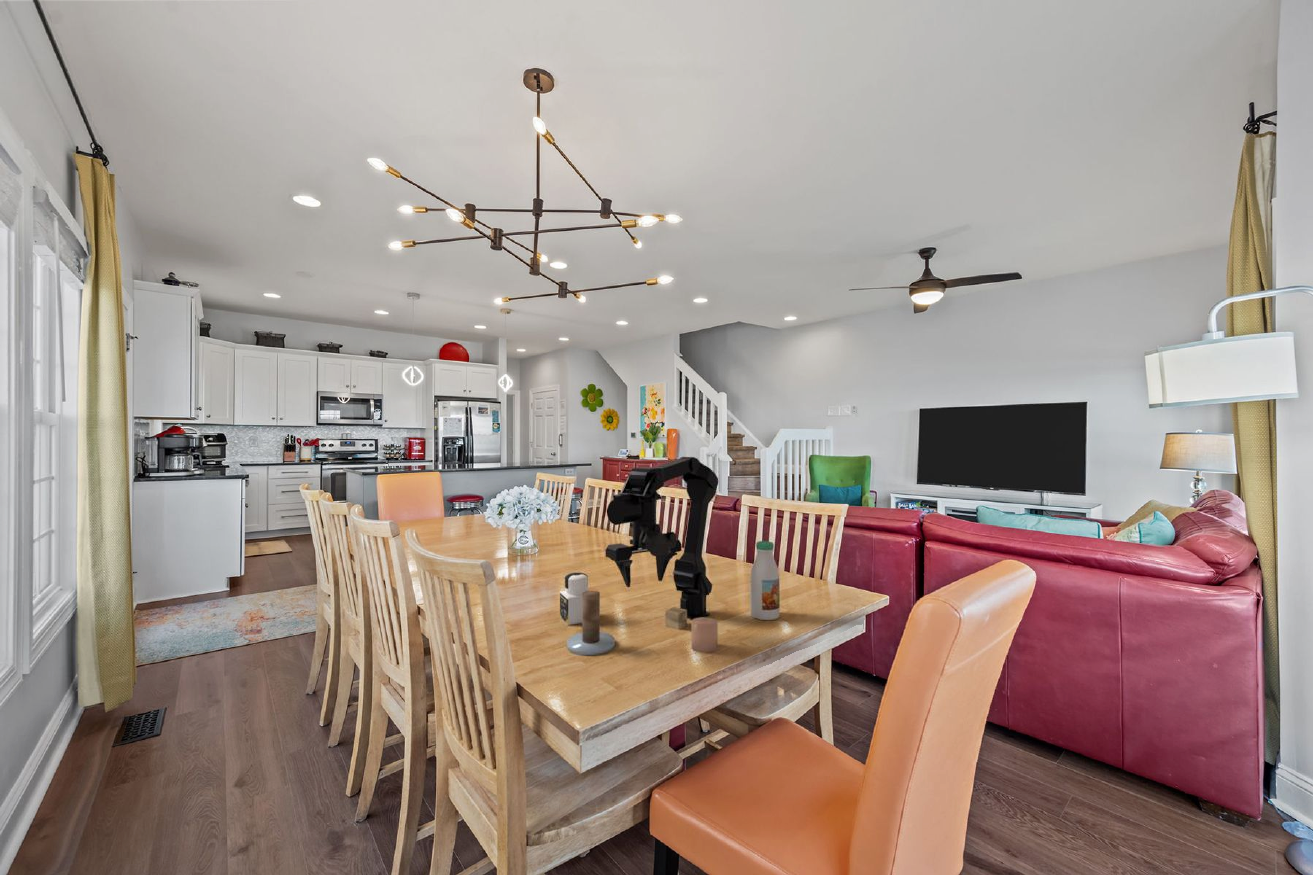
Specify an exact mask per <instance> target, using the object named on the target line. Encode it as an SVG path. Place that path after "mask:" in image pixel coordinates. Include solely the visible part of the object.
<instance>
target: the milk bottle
mask: <svg viewBox="0 0 1313 875" xmlns="http://www.w3.org/2000/svg"><path fill="white" fill-rule="evenodd" d="M755 544H756V545H755V546H756V549H755V550H756V555H755V556H756V557H755V559H754V562H753V564H752V566H751V570H750V589H749V590H750V594H749V596H750V604H749V605H750V615H752V616H751V617H753V618H754V619H756V618H757V620H761V621H775V620H777V619H779V618H780V613H781V612H780V609H781V607H780V602H781V601H780V596H781V595H780V572H779V568H778V565H777V563H776V560H775V558H774V553H773V552H774V548H775V546H774V542H772V541H768V540H767V541H766V540H760V541H757V542H756V543H755Z"/></svg>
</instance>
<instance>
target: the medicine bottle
mask: <svg viewBox="0 0 1313 875" xmlns="http://www.w3.org/2000/svg"><path fill="white" fill-rule="evenodd" d="M588 580H589V578H588V574H586V573H584V572H570V573H568V574H566V575H565V576H564V590H560V591H559V618H561V619H562V621H563V622H564V623H565V624H566V625H568V626H571V625H577V624H582V593H583V592H585V591H589V586H588V584H589V581H588Z"/></svg>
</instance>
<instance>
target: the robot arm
mask: <svg viewBox="0 0 1313 875" xmlns="http://www.w3.org/2000/svg"><path fill="white" fill-rule="evenodd" d="M679 477H681V479H682V480H683V482H684V483H685V484H686V492H687V495H688V498H689V500H690V505H689V512H688V519H687V526H686V533H685V542H684V549H683V554H682V555H681V556H680V557H679V558H676V559H675V561H674V568H673V571H672V575H673V581H674V586H675V590H676V592H681V594H680V595H681V597H680V601H679V602H680V603H679V605H680V606H679V607H680V608H681V609H685V610H687V619H690V620H693V619H695V618H701V617H707V616H710V615H711V612H708V611H707V596H709V595H710V594H711V593H712V589H713V583H712V582H711V580H709V578H708V577H707V566H706V564H705V561H704V559H703V550H704V541H705V535H706V534H705V533H706V524H707V518H708V517H707V516H708V510H709V504H710V503H711V501H712V500H713V498H714V497H715V496H716V494H717V493H716V492H717V490H718V489H717V488H718V486H719V478H718V476H717V475H716V473H715V472H714V470H713V469H712V468H710V467H709V466H707V465H705V464H704V463H702V462H701V461H700V459H699V458H697V457H694V456H681V457H679V458H677V459H675V460H671V461H668V462H665V463H663V464H659V465H656V466H638V467H637V466H636V467H633V468H631V470H630V473H629V474H628V476H627V477H626V480H625V482H624V485H623V486H622V488H621V491H620V493H619V494H613V498H612V500H611V501H610V502H609V504H608V505H607V508H606V516H607V519H608V521H609V522H610V523H611V524H613V525H615V526H619V525H625V524H629V527H630V528H632V539H629V545H627V544H624V543H621V542H620V543H614V544H608V545H607V546H606V548H605V557H606V558H608V559H610V560H611V561H613V562H614V563H615V564H616V566H617V569H618V570H619V572H620V575H621V577H622V579H623V582H624V584H625V586H626V588H630V587H631V580H632V579H631V565H632V563H633V561H634V560H633V559H631V558H632V557H633V555H635V554H640V553H641V554H642V553H647V552H649V553H650V554H651V556H653V557H655V564H656V576H657V581H658V582H662V581H663V578H664V575H665V573H666V571H667V568H668V565H669V562H670V560H672V558H674V557H675V556H677V555H678V553H679V552H682V543H681V540H680V539H678V538H677V534H676V532H675V531H667V532H666V533H665V532H663V533H662V532H661V526H660V523H657V501H659V500H662V496H661V494H659V493H658V490H660V489H661V488H663V487H664V485H665V483H666V482H668V481H671V480H673V479H676V478H679Z"/></svg>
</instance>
